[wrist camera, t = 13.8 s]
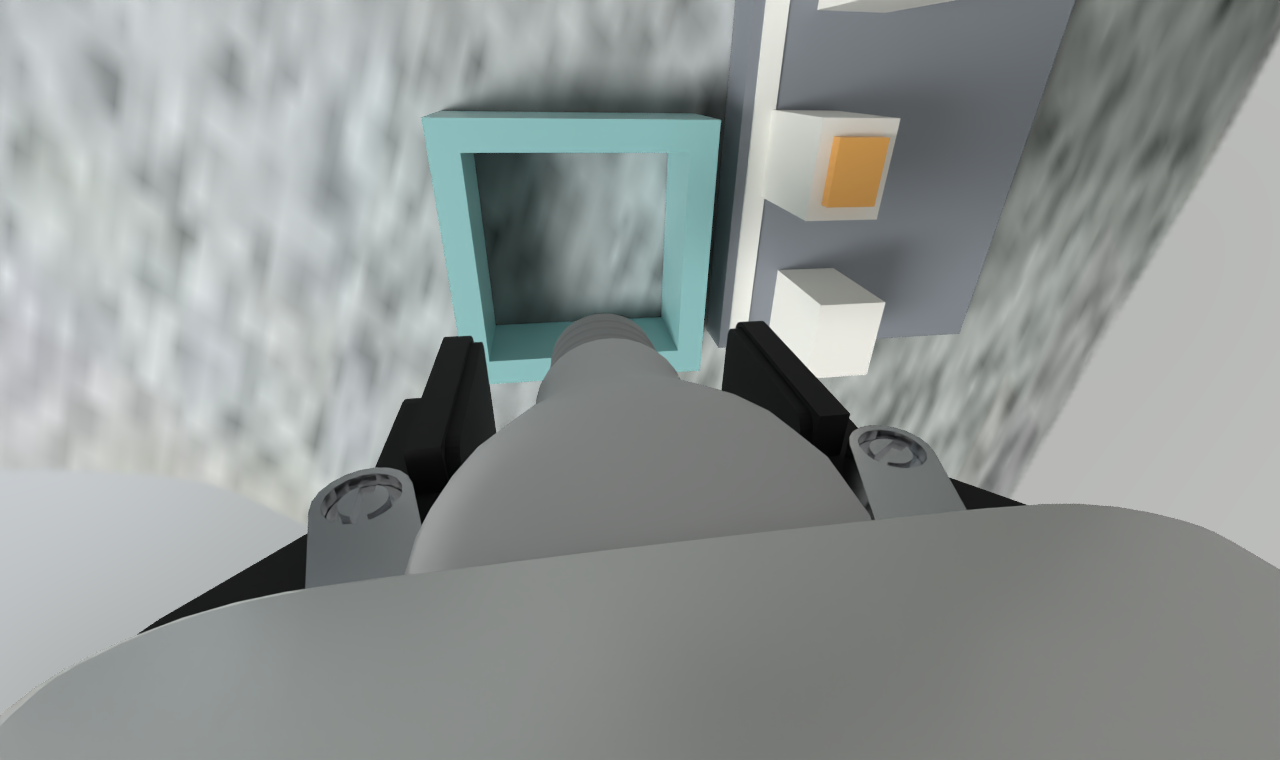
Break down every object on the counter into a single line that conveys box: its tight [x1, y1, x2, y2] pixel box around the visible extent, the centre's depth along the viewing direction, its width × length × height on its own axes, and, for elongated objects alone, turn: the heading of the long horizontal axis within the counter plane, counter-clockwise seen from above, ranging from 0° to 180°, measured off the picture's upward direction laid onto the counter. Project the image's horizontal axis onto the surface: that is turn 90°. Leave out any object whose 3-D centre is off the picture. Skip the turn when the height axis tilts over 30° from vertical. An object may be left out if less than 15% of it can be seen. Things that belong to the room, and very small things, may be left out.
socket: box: [421, 111, 721, 384], centre depth 21 cm, size 10×10×4 cm
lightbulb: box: [404, 313, 872, 575], centre depth 9 cm, size 6×6×11 cm
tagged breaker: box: [761, 110, 901, 221], centre depth 18 cm, size 3×2×4 cm
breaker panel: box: [707, 0, 1075, 378], centre depth 20 cm, size 16×12×6 cm
